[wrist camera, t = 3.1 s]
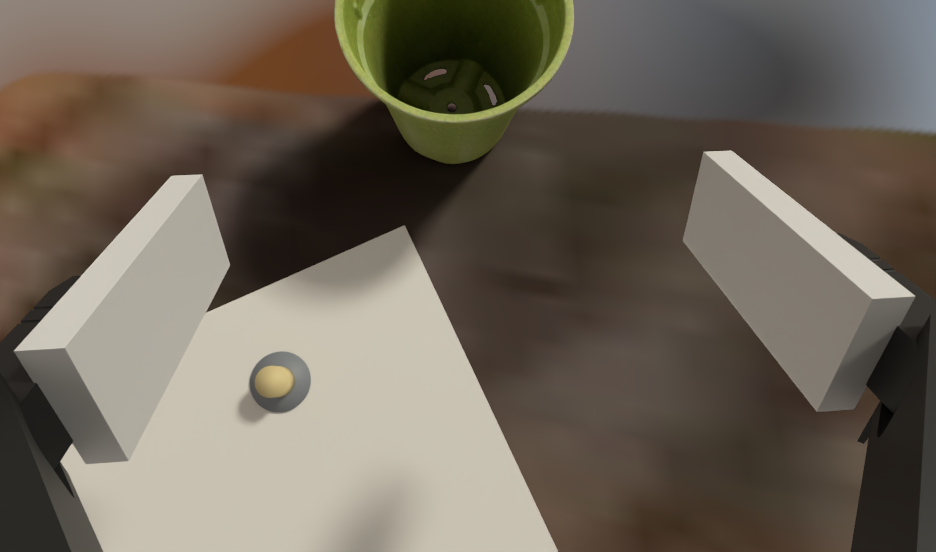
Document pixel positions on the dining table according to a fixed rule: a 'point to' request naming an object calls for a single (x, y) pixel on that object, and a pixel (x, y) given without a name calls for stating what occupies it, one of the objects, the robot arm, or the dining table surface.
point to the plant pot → (454, 64)
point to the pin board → (320, 428)
